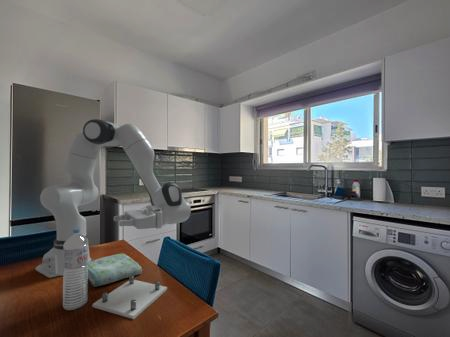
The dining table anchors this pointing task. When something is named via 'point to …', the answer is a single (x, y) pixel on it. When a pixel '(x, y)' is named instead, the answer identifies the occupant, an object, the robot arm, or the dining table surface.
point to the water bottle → (75, 271)
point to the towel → (112, 269)
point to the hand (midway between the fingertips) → (116, 221)
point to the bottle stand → (130, 298)
